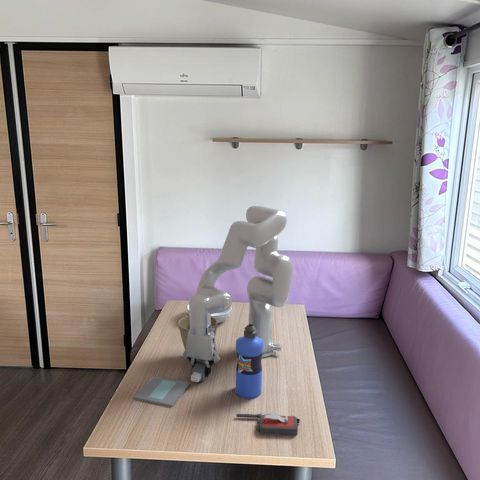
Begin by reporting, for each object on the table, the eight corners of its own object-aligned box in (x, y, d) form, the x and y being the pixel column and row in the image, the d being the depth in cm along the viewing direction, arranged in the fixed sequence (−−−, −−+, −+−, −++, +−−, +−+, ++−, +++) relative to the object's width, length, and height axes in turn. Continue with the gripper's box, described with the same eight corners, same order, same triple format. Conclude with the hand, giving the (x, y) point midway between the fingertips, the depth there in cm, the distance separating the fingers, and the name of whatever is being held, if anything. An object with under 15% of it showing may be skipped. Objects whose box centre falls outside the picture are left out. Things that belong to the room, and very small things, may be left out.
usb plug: (200, 369, 173) (199, 358, 172) (210, 371, 172) (209, 360, 171) (189, 383, 164) (189, 372, 163) (200, 385, 163) (199, 374, 162)
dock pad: (189, 384, 165) (189, 382, 165) (172, 407, 152) (172, 404, 152) (153, 377, 169) (153, 375, 169) (134, 399, 156) (134, 396, 156)
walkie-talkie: (298, 419, 148) (236, 416, 149) (299, 407, 147) (236, 404, 147) (301, 437, 139) (234, 434, 140) (302, 424, 138) (235, 422, 139)
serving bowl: (230, 330, 209) (231, 316, 207) (184, 329, 209) (184, 315, 207) (232, 311, 229) (232, 298, 227) (189, 310, 229) (189, 297, 227)
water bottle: (253, 402, 156) (255, 333, 149) (229, 393, 160) (231, 326, 154) (266, 389, 163) (269, 323, 157) (244, 381, 168) (245, 317, 162)
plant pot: (213, 348, 191) (214, 312, 187) (220, 367, 177) (220, 328, 173) (177, 351, 188) (177, 315, 184) (180, 370, 174) (180, 331, 170)
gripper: (226, 327, 165) (226, 372, 170) (183, 321, 170) (184, 365, 175) (219, 336, 158) (219, 383, 163) (174, 329, 163) (176, 375, 168)
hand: (201, 373), depth 169 cm, fingers closed on usb plug, 4 cm apart
